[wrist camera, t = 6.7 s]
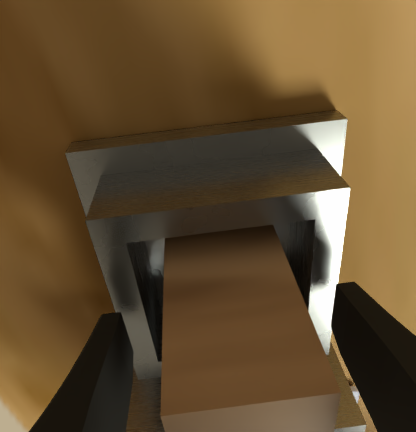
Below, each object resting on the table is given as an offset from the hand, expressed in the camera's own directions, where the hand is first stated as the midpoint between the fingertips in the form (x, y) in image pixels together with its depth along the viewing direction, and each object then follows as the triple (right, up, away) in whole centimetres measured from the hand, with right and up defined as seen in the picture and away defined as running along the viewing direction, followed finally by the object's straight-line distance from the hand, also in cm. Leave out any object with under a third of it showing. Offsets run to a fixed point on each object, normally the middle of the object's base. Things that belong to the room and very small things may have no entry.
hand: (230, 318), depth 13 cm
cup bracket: (0, +3, +4) cm, 5 cm away
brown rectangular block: (0, +2, +3) cm, 4 cm away
